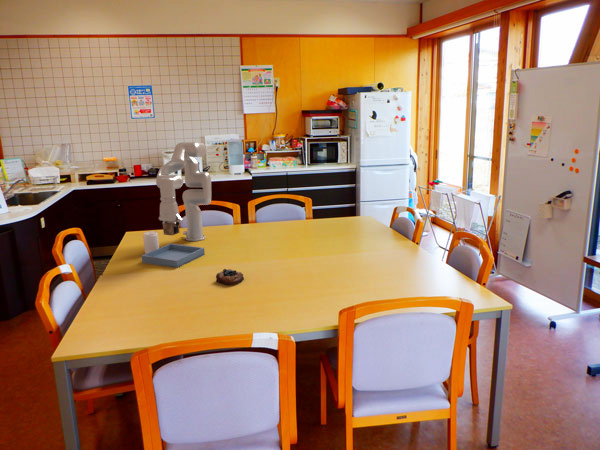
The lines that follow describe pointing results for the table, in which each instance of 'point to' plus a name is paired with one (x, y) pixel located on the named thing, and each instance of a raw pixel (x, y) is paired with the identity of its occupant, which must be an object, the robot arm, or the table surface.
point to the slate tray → (173, 255)
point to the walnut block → (169, 228)
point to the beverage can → (150, 241)
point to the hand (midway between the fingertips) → (171, 232)
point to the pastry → (229, 277)
